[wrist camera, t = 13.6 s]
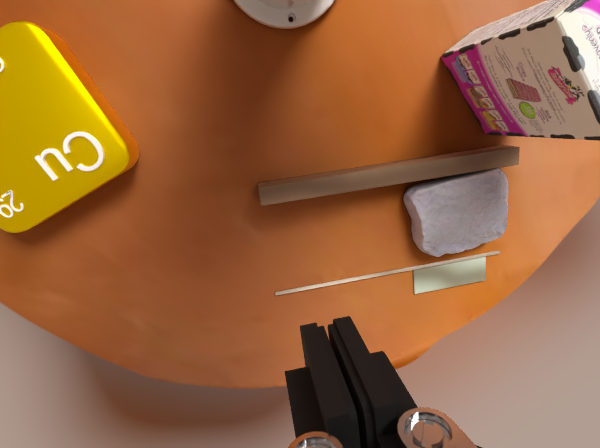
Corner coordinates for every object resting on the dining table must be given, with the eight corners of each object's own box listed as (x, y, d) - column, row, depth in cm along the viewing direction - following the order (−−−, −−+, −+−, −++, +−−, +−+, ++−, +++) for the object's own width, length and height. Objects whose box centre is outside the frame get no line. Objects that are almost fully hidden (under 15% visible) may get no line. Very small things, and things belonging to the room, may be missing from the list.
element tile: (51, 21, 36) (23, 7, 31) (149, 157, 41) (137, 162, 36) (-81, 103, 36) (-127, 101, 32) (31, 229, 41) (5, 243, 36)
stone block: (489, 224, 51) (490, 155, 46) (512, 242, 47) (516, 168, 42) (405, 248, 50) (397, 182, 45) (421, 269, 46) (414, 198, 41)
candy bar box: (518, 108, 45) (666, 105, 29) (484, 135, 45) (613, 146, 29) (474, 25, 41) (614, -30, 26) (437, 55, 42) (555, 19, 26)
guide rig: (257, 182, 43) (258, 187, 40) (502, 145, 46) (519, 147, 43) (279, 319, 48) (281, 332, 45) (498, 277, 51) (513, 286, 48)
